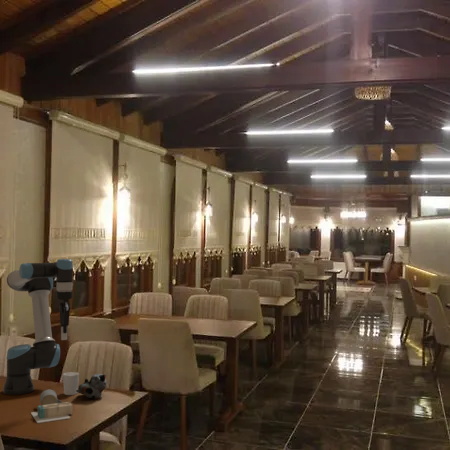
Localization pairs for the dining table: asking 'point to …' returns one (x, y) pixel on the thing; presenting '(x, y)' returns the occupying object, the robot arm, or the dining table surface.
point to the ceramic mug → (49, 397)
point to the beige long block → (54, 410)
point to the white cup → (70, 383)
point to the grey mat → (49, 419)
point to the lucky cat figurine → (93, 386)
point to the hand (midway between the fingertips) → (64, 339)
